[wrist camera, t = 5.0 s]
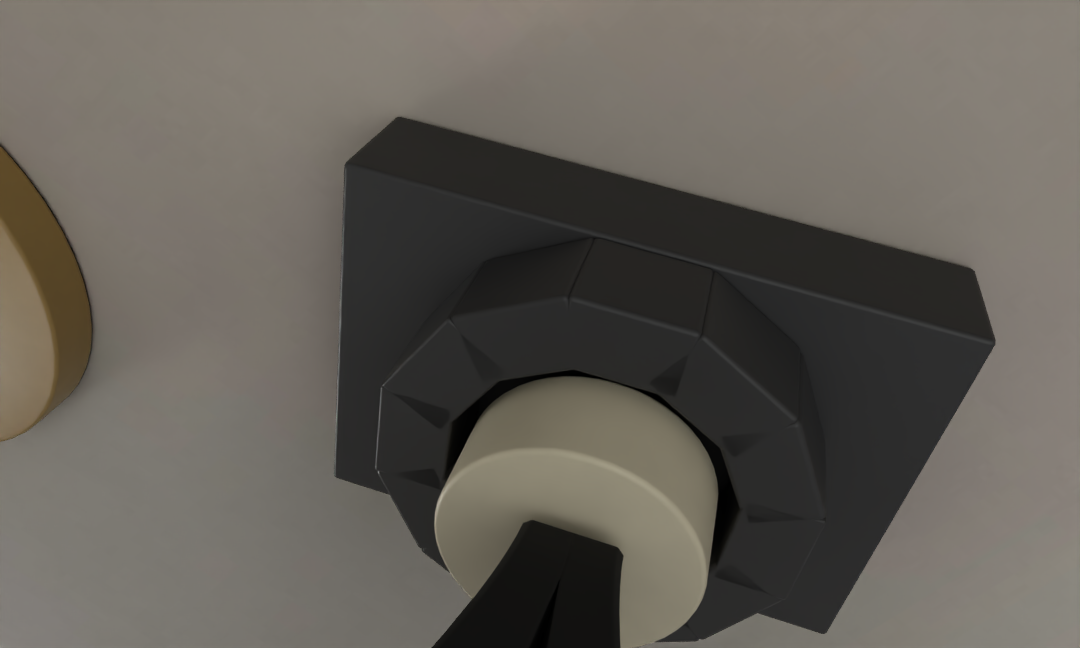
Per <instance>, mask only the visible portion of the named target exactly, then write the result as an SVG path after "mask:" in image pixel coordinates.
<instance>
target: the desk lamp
mask: <svg viewBox="0 0 1080 648" xmlns="http://www.w3.org/2000/svg"><path fill="white" fill-rule="evenodd" d="M91 336H92V325H91V315H90V306H89V301H88V297H87V293H86V289H85V285H84V281H83V278H82V275H81V273H80V270H79V267H78V264H77V262H76V259H75V256H74V254H73V252H72V250H71V248H70V246H69V244H68V242H67V240H66V238H65V235H64V233H63V231H62V229H61V228H60V226H59V224H58V223H57V221H56V219H55V218H54V216H53V214H52V213H51V211H50V209H49V208H48V206H47V204H46V203H45V201H44V200H43V198H42V197H41V196H40V194H39V193H38V191H37V190H36V189H35V187H34V186H33V185H32V183H31V182H30V180H29V179H28V178H27V176H26V175H25V174H24V173H23V171H22V170H21V169H20V168H19V167H18V165H17V164H16V163H15V162H14V161H13V160H12V158H11V157H10V156H9V155H8V154H7V153H6V151H5V150H4V149H3V148H2V147H1V146H0V442H1V441H5V440H9V439H12V438H14V437H16V436H18V435H21V434H23V433H25V432H27V431H28V430H29V429H31V428H32V427H33V426H34V425H36V424H37V423H38V422H39V421H41V420H42V419H43V418H44V417H45V416H46V415H47V414H49V413H50V412H51V411H52V410H53V409H54V408H55V407H57V406H58V405H59V404H60V403H61V402H62V401H64V400H65V399H66V398H67V397H68V396H69V395H70V394H71V393H72V391H73V390H74V389H75V387H76V386H77V385H78V384H79V382H80V379H81V377H82V375H83V373H84V371H85V369H86V366H87V362H88V358H89V354H90V350H91Z"/></svg>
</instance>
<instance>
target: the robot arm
mask: <svg viewBox="0 0 1080 648" xmlns="http://www.w3.org/2000/svg"><path fill="white" fill-rule="evenodd" d="M623 557H624V555H623V554H622V552H621V551H620V549H619V548H618V547H616V546H613V545H610V544H606V543H603V542H600V541H597V540H594V539H591V538H588V537H585V536H582V535H578V534H575V533H572V532H569V531H566V530H563V529H560V528H557V527H553V526H550V525H547V524H544V523H541V522H538V521H535V520H530V521H527V522H524V523H523V524H522V526H521V528H520V530H519V532H518V533H517V535H516V537H515V539H514V541H513V542H512V544H511V545H510V547H509V549H508V550H507V552H506V553H505V555H504V557H503V558H502V560H501V561H500V562H499V564H498V565H497V567H496V568H495V570H494V571H493V572H492V574H491V575H490V577H489V578H488V579H487V581H486V582H485V583H484V585H483V586H482V587H481V589H480V590H479V591H478V593H477V594H476V595H475V597H474V598H473V599H472V600H471V601H470V603H469V604H468V605H467V606H466V607H465V609H464V610H463V611H462V612H461V614H460V615H459V616H458V617H457V618H456V620H455V621H454V622H453V623H452V625H451V626H450V627H449V628H448V629H447V631H446V632H445V633H444V634H443V635H442V637H441V638H440V639H439V640H438V641H437V642H436V643H435V644H434V646H433V647H432V648H621V647H620V583H621V570H622V563H623Z"/></svg>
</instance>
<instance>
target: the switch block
mask: <svg viewBox="0 0 1080 648" xmlns="http://www.w3.org/2000/svg"><path fill="white" fill-rule="evenodd" d="M994 346H995V337H994V334H993V331H992V327H991V324H990V321H989V317H988V314H987V311H986V307H985V304H984V301H983V297H982V294H981V291H980V287H979V284H978V281H977V278H976V274H975V271H974V270H972V269H970V268H966V267H963V266H959V265H955V264H951V263H948V262H944V261H940V260H936V259H933V258H929V257H925V256H921V255H917V254H914V253H910V252H906V251H902V250H899V249H895V248H891V247H887V246H884V245H880V244H876V243H872V242H869V241H865V240H861V239H857V238H854V237H850V236H846V235H842V234H838V233H835V232H831V231H827V230H823V229H820V228H816V227H812V226H808V225H805V224H801V223H797V222H793V221H790V220H786V219H782V218H778V217H774V216H771V215H767V214H763V213H759V212H756V211H752V210H748V209H744V208H741V207H737V206H733V205H729V204H726V203H722V202H718V201H714V200H711V199H707V198H703V197H699V196H695V195H692V194H688V193H684V192H680V191H677V190H673V189H669V188H665V187H662V186H658V185H654V184H650V183H647V182H643V181H639V180H635V179H632V178H628V177H624V176H620V175H616V174H613V173H609V172H605V171H601V170H598V169H594V168H590V167H586V166H583V165H579V164H575V163H571V162H568V161H564V160H560V159H556V158H553V157H549V156H545V155H541V154H537V153H534V152H530V151H526V150H522V149H519V148H515V147H511V146H507V145H504V144H500V143H496V142H492V141H489V140H485V139H481V138H477V137H474V136H470V135H466V134H462V133H458V132H455V131H451V130H447V129H443V128H440V127H436V126H432V125H428V124H425V123H421V122H417V121H413V120H410V119H406V118H402V117H398V118H396V119H395V120H394V121H392V122H391V123H390V124H389V125H388V126H387V127H386V128H384V129H383V130H382V131H381V132H380V133H379V134H378V135H377V136H375V137H374V138H373V139H372V140H371V141H370V142H369V143H367V144H366V145H365V146H364V147H363V148H362V149H361V150H360V151H358V152H357V153H356V154H355V155H354V156H353V157H352V158H350V159H349V160H348V161H347V162H346V164H345V167H344V195H343V225H342V254H341V284H340V314H339V343H338V373H337V403H336V432H335V462H334V476H335V477H336V478H339V479H342V480H345V481H348V482H351V483H355V484H358V485H361V486H364V487H367V488H370V489H373V490H376V491H379V492H383V493H386V494H389V495H390V496H391V498H392V500H393V502H394V503H395V505H396V507H397V509H398V511H399V512H400V514H401V516H402V518H403V520H404V521H405V523H406V525H407V527H408V529H409V530H410V532H411V534H412V536H413V538H414V539H415V541H416V543H417V545H418V546H419V547H420V548H422V551H423V552H424V553H425V554H426V555H428V556H429V557H430V558H431V559H433V560H434V561H435V562H437V563H438V564H439V565H441V566H442V567H443V568H445V569H446V570H447V571H448V572H449V570H448V568H447V567H446V565H445V563H444V561H443V559H442V556H441V554H440V552H439V548H438V545H437V542H436V535H435V527H434V522H435V510H436V506H437V501H438V499H439V496H440V494H441V492H442V490H443V488H444V486H445V484H446V482H447V480H448V478H449V476H450V474H451V472H452V470H453V468H454V466H455V464H456V462H457V460H458V458H459V456H460V454H461V452H462V450H463V448H464V446H465V444H466V442H467V440H468V438H469V436H470V434H471V432H472V430H473V428H474V426H475V424H476V422H477V420H478V419H479V417H480V416H481V415H482V413H483V412H484V410H485V409H486V408H487V407H488V406H489V405H490V404H491V403H492V402H493V401H494V400H496V399H497V398H499V397H500V396H501V395H503V394H504V393H506V392H508V391H510V390H512V389H513V388H515V387H517V386H519V385H522V384H525V383H528V382H531V381H534V380H538V379H543V378H548V377H558V376H583V377H591V378H599V379H603V380H607V381H611V382H615V383H619V384H621V385H624V386H627V387H630V388H633V389H635V390H637V391H639V392H641V393H643V394H646V395H648V396H650V397H651V398H653V399H655V400H656V401H658V402H660V403H661V404H663V405H664V406H666V407H667V408H668V409H670V410H671V411H672V412H674V413H675V414H676V415H677V416H679V417H680V418H681V419H682V420H683V421H684V422H685V423H686V424H687V425H688V426H689V427H690V428H691V430H692V431H693V432H694V433H695V435H696V436H697V437H698V438H699V440H700V441H701V443H702V444H703V446H704V448H705V449H706V451H707V453H708V455H709V457H710V459H711V462H712V464H713V467H714V470H715V474H716V478H717V483H718V502H717V510H716V518H715V526H714V533H713V541H712V549H711V556H710V564H709V571H708V579H707V587H706V590H705V593H704V596H703V599H702V601H701V603H700V604H699V606H698V608H697V610H696V611H695V612H694V614H693V615H692V616H691V617H690V618H689V620H688V621H687V622H686V623H685V624H684V625H682V626H681V627H680V628H679V629H678V630H676V631H675V632H673V633H671V634H670V635H668V636H666V637H665V638H662V639H660V640H658V641H655V642H690V641H698V640H699V639H705V638H707V637H709V636H712V635H714V634H716V633H718V632H720V631H722V630H724V629H726V628H728V627H730V626H732V625H734V624H736V623H738V622H740V621H742V620H744V619H746V618H748V617H750V616H752V615H754V614H756V613H759V614H762V615H765V616H768V617H771V618H775V619H778V620H781V621H784V622H787V623H790V624H793V625H796V626H799V627H803V628H806V629H809V630H812V631H815V632H818V633H821V634H825V633H826V632H827V631H828V629H829V627H830V626H831V624H832V622H833V620H834V619H835V617H836V615H837V614H838V612H839V610H840V608H841V607H842V605H843V603H844V602H845V600H846V598H847V597H848V595H849V593H850V591H851V590H852V588H853V586H854V585H855V583H856V581H857V579H858V578H859V576H860V574H861V573H862V571H863V569H864V568H865V566H866V564H867V562H868V561H869V559H870V557H871V556H872V554H873V552H874V550H875V549H876V547H877V545H878V544H879V542H880V540H881V539H882V537H883V535H884V533H885V532H886V530H887V528H888V527H889V525H890V523H891V521H892V520H893V518H894V516H895V515H896V513H897V511H898V510H899V508H900V506H901V504H902V503H903V501H904V499H905V498H906V496H907V494H908V492H909V491H910V489H911V487H912V486H913V484H914V482H915V480H916V479H917V477H918V475H919V474H920V472H921V470H922V469H923V467H924V465H925V463H926V462H927V460H928V458H929V457H930V455H931V453H932V451H933V450H934V448H935V446H936V445H937V443H938V441H939V440H940V438H941V436H942V434H943V433H944V431H945V429H946V428H947V426H948V424H949V422H950V421H951V419H952V417H953V416H954V414H955V412H956V411H957V409H958V407H959V405H960V404H961V402H962V400H963V399H964V397H965V395H966V393H967V392H968V390H969V388H970V387H971V385H972V383H973V382H974V380H975V378H976V376H977V375H978V373H979V371H980V370H981V368H982V366H983V364H984V363H985V361H986V359H987V358H988V356H989V354H990V353H991V351H992V349H993V347H994Z"/></svg>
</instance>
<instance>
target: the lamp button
mask: <svg viewBox="0 0 1080 648" xmlns="http://www.w3.org/2000/svg"><path fill="white" fill-rule="evenodd" d="M717 502H718V483H717V478H716V474H715V470H714V467H713V464H712V462H711V459H710V457H709V455H708V453H707V451H706V449H705V448H704V446H703V444H702V443H701V441H700V440H699V438H698V437H697V436H696V435H695V433H694V432H693V431H692V430H691V428H690V427H689V426H688V425H687V424H686V423H685V422H684V421H683V420H682V419H681V418H680V417H679V416H677V415H676V414H675V413H674V412H672V411H671V410H670V409H668V408H667V407H666V406H664V405H663V404H661V403H660V402H658V401H656V400H655V399H653V398H651V397H650V396H648V395H646V394H643V393H641V392H639V391H637V390H635V389H633V388H630V387H627V386H624V385H621V384H619V383H615V382H611V381H607V380H603V379H599V378H591V377H583V376H558V377H548V378H543V379H538V380H534V381H531V382H528V383H525V384H522V385H519V386H517V387H515V388H513V389H512V390H510V391H508V392H506V393H504V394H503V395H501V396H500V397H499V398H497V399H496V400H494V401H493V402H492V403H491V404H490V405H489V406H488V407H487V408H486V409H485V410H484V412H483V413H482V415H481V416H480V417H479V419H478V420H477V422H476V424H475V426H474V428H473V430H472V432H471V434H470V436H469V438H468V440H467V442H466V444H465V446H464V448H463V450H462V452H461V454H460V456H459V458H458V460H457V462H456V464H455V466H454V468H453V470H452V472H451V474H450V476H449V478H448V480H447V482H446V484H445V486H444V488H443V490H442V492H441V494H440V496H439V499H438V501H437V506H436V510H435V522H434V527H435V535H436V542H437V545H438V548H439V552H440V554H441V556H442V559H443V561H444V563H445V565H446V567H447V568H448V570H449V572H450V573H451V575H452V576H453V578H454V579H455V580H456V582H457V583H458V584H459V585H460V587H461V588H462V589H463V590H464V591H465V592H466V593H467V594H468V595H469V596H470V597H471V598H472V599H473V598H474V597H475V595H476V594H477V593H478V591H479V590H480V589H481V587H482V586H483V585H484V583H485V582H486V581H487V579H488V578H489V577H490V575H491V574H492V572H493V571H494V570H495V568H496V567H497V565H498V564H499V562H500V561H501V560H502V558H503V557H504V555H505V553H506V552H507V550H508V549H509V547H510V545H511V544H512V542H513V541H514V539H515V537H516V535H517V533H518V532H519V530H520V528H521V526H522V524H523V523H524V522H527V521H530V520H535V521H538V522H541V523H544V524H547V525H550V526H553V527H557V528H560V529H563V530H566V531H569V532H572V533H575V534H578V535H582V536H585V537H588V538H591V539H594V540H597V541H600V542H603V543H606V544H610V545H613V546H616V547H618V548H619V549H620V551H621V552H622V554H623V555H624V557H623V563H622V570H621V583H620V647H621V648H635V647H639V646H643V645H647V644H650V643H653V642H655V641H658V640H660V639H662V638H665V637H666V636H668V635H670V634H671V633H673V632H675V631H676V630H678V629H679V628H680V627H681V626H682V625H684V624H685V623H686V622H687V621H688V620H689V618H690V617H691V616H692V615H693V614H694V612H695V611H696V610H697V608H698V606H699V604H700V603H701V601H702V599H703V596H704V593H705V590H706V587H707V579H708V571H709V564H710V556H711V549H712V541H713V533H714V526H715V518H716V510H717Z"/></svg>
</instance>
